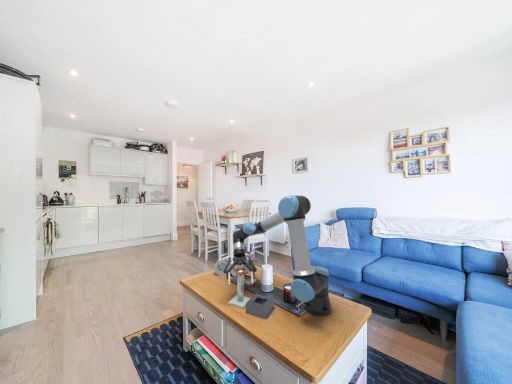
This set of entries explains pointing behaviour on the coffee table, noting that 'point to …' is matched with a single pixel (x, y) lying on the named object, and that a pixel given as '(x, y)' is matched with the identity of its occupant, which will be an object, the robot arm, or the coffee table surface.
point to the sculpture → (220, 268)
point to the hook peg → (240, 283)
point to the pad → (239, 304)
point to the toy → (247, 261)
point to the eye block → (260, 306)
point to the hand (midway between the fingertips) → (241, 284)
